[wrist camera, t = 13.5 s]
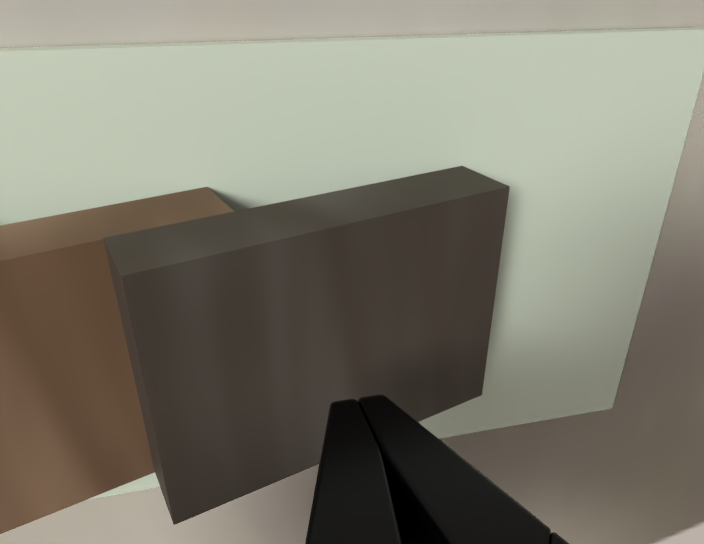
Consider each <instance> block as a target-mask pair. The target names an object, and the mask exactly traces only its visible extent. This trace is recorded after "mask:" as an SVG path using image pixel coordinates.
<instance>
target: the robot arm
mask: <svg viewBox="0 0 704 544" xmlns="http://www.w3.org/2000/svg"><path fill="white" fill-rule="evenodd" d="M305 544H569V543H568V542H566V541H565V540H564V539H563V538H561V537H560V536H559V535H558V534H556V533H554V532H553V533H551V530H550V528H549V527H547V526H546V525H545V524H544V523H542V522H541V521H540V520H539V519H537V518H536V517H535V516H534V515H532V514H531V513H530V512H529V511H528V510H526V509H525V508H524V507H523V506H521V505H520V504H519V503H518V502H516V501H515V500H514V499H513V498H511V497H510V496H509V495H508V494H506V493H505V492H504V491H503V490H502V489H500V488H499V487H498V486H497V485H495V484H494V483H493V482H492V481H490V480H489V479H488V478H487V477H485V476H484V475H483V474H482V473H480V472H479V471H478V470H477V469H475V468H474V467H473V466H472V465H471V464H469V463H468V462H467V461H466V460H464V459H463V458H462V457H461V456H459V455H458V454H457V453H456V452H454V451H453V450H452V449H451V448H449V447H448V446H447V445H446V444H444V443H443V442H442V441H441V440H440V439H438V438H437V437H436V436H435V435H433V434H432V433H431V432H430V431H428V430H427V429H426V428H425V427H423V426H422V425H421V424H420V423H418V422H417V421H416V420H415V419H413V418H412V417H411V416H410V415H409V414H407V413H406V412H405V411H404V410H402V409H401V408H400V407H399V406H397V405H396V404H395V403H394V402H392V401H391V400H390V399H389V398H387V397H386V396H384V395H373V396H366V397H361V398H360V399H359V400H358V401H357V400H355V399H347V400H340V401H334V402H332V403H331V405H330V408H329V414H328V419H327V425H326V431H325V436H324V442H323V447H322V453H321V458H320V464H319V470H318V475H317V481H316V486H315V492H314V498H313V503H312V509H311V514H310V520H309V526H308V531H307V537H306V542H305Z"/></svg>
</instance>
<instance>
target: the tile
mask: <svg viewBox="0 0 704 544" xmlns="http://www.w3.org/2000/svg"><path fill="white" fill-rule="evenodd" d="M509 189H510V186H508V185H505V184H503V183H501V182H498V181H496V180H494V179H492V178H489V177H487V176H485V175H482V174H480V173H478V172H475V171H473V170H471V169H469V168H466V167H464V166H458V167H453V168H448V169H443V170H438V171H433V172H428V173H423V174H418V175H413V176H408V177H403V178H398V179H393V180H388V181H384V182H379V183H374V184H369V185H364V186H359V187H354V188H349V189H344V190H339V191H334V192H329V193H324V194H319V195H314V196H309V197H304V198H299V199H294V200H289V201H284V202H279V203H274V204H269V205H264V206H259V207H254V208H249V209H244V210H239V211H234V212H229V213H224V214H219V215H214V216H209V217H204V218H199V219H194V220H189V221H184V222H179V223H174V224H169V225H164V226H159V227H154V228H149V229H145V230H140V231H135V232H130V233H125V234H120V235H115V236H110V237H105V238H103V239H104V244H105V248H106V253H107V257H108V262H109V266H110V271H111V275H112V280H113V285H114V289H115V294H116V298H117V303H118V307H119V312H120V316H121V321H122V325H123V330H124V334H125V339H126V343H127V348H128V352H129V357H130V362H131V366H132V371H133V375H134V380H135V384H136V389H137V393H138V398H139V402H140V407H141V411H142V416H143V420H144V425H145V429H146V434H147V438H148V443H149V448H150V452H151V457H152V461H153V466H154V470H155V473H156V476H157V479H158V482H159V485H160V487H161V490H162V493H163V496H164V499H165V501H166V504H167V507H168V510H169V512H170V515H171V518H172V521H173V524H174V525H175V524H177V523H180V522H182V521H184V520H187V519H189V518H191V517H194V516H196V515H199V514H201V513H203V512H206V511H208V510H210V509H213V508H215V507H218V506H220V505H222V504H225V503H227V502H229V501H232V500H234V499H237V498H239V497H241V496H244V495H246V494H248V493H251V492H253V491H256V490H258V489H260V488H263V487H265V486H267V485H270V484H272V483H275V482H277V481H279V480H282V479H284V478H286V477H289V476H291V475H294V474H296V473H298V472H301V471H303V470H305V469H308V468H310V467H312V466H315V465H317V464H320V458H321V453H322V447H323V442H324V436H325V431H326V425H327V419H328V414H329V408H330V405H331V403H332V402H334V401H340V400H347V399H355V400H357V401H358V400H359V399H360V398H361V397H366V396H373V395H384V396H386V397H387V398H389V399H390V400H391V401H392V402H394V403H395V404H396V405H397V406H399V407H400V408H401V409H402V410H404V411H405V412H406V413H407V414H409V415H410V416H411V417H412V418H413V419H415V420H416V421H417V422H419V421H422V420H424V419H426V418H429V417H431V416H433V415H436V414H438V413H441V412H443V411H445V410H448V409H450V408H452V407H455V406H457V405H460V404H462V403H464V402H467V401H469V400H471V399H474V398H476V397H479V396H481V395H482V391H483V384H484V376H485V369H486V361H487V354H488V346H489V339H490V331H491V324H492V316H493V309H494V301H495V294H496V286H497V279H498V271H499V264H500V256H501V249H502V241H503V234H504V227H505V219H506V212H507V204H508V197H509Z"/></svg>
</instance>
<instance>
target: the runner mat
mask: <svg viewBox="0 0 704 544" xmlns="http://www.w3.org/2000/svg"><path fill="white" fill-rule="evenodd" d="M703 73H704V27H684V28H651V29H618V30H585V31H552V32H518V33H485V34H452V35H419V36H386V37H352V38H319V39H286V40H253V41H220V42H186V43H153V44H120V45H87V46H53V47H20V48H0V226H1V225H6V224H11V223H17V222H22V221H27V220H33V219H38V218H43V217H49V216H54V215H59V214H64V213H70V212H75V211H80V210H86V209H91V208H96V207H102V206H107V205H112V204H118V203H123V202H128V201H134V200H139V199H144V198H150V197H155V196H160V195H166V194H171V193H176V192H182V191H187V190H192V189H197V188H203V187H208V188H209V189H210V190H211V191H212V192H213V193H214V194H216V195H217V196H218V197H219V198H220V199H221V200H222V201H223V202H224V203H226V204H227V205H228V206H229V207H230V208H231V209H232V210H233V211H239V210H244V209H249V208H254V207H259V206H264V205H269V204H274V203H279V202H284V201H289V200H294V199H299V198H304V197H309V196H314V195H319V194H324V193H329V192H334V191H339V190H344V189H349V188H354V187H359V186H364V185H369V184H374V183H379V182H384V181H388V180H393V179H398V178H403V177H408V176H413V175H418V174H423V173H428V172H433V171H438V170H443V169H448V168H453V167H458V166H464V167H466V168H469V169H471V170H473V171H475V172H478V173H480V174H482V175H485V176H487V177H489V178H492V179H494V180H496V181H498V182H501V183H503V184H505V185H508V186H510V189H509V197H508V204H507V212H506V219H505V227H504V234H503V241H502V249H501V256H500V264H499V271H498V279H497V286H496V294H495V301H494V309H493V316H492V324H491V331H490V339H489V346H488V354H487V361H486V369H485V376H484V384H483V391H482V395H481V396H479V397H476V398H474V399H471V400H469V401H467V402H464V403H462V404H460V405H457V406H455V407H452V408H450V409H448V410H445V411H443V412H441V413H438V414H436V415H433V416H431V417H429V418H426V419H424V420H422V421H419V422H418V423H420V424H421V425H422V426H423V427H425V428H426V429H427V430H428V431H430V432H431V433H432V434H433V435H435V436H436V437H437V438H438V439H440V438H446V437H452V436H457V435H463V434H469V433H475V432H481V431H486V430H492V429H498V428H504V427H509V426H515V425H521V424H527V423H532V422H538V421H544V420H550V419H555V418H561V417H567V416H573V415H578V414H584V413H590V412H596V411H602V410H607V409H612V407H613V404H614V400H615V396H616V393H617V389H618V385H619V382H620V378H621V374H622V371H623V367H624V363H625V360H626V356H627V352H628V349H629V345H630V341H631V338H632V334H633V330H634V327H635V323H636V319H637V316H638V312H639V308H640V305H641V301H642V297H643V294H644V290H645V286H646V283H647V279H648V275H649V271H650V268H651V264H652V260H653V257H654V253H655V249H656V246H657V242H658V238H659V235H660V231H661V227H662V224H663V220H664V216H665V213H666V209H667V205H668V202H669V198H670V194H671V191H672V187H673V183H674V180H675V176H676V172H677V169H678V165H679V161H680V158H681V154H682V150H683V147H684V143H685V139H686V135H687V132H688V128H689V124H690V121H691V117H692V113H693V110H694V106H695V102H696V99H697V95H698V91H699V88H700V84H701V80H702V77H703ZM158 487H160V485H159V482H158V479H157V476H156V473H152V474H150V475H147V476H145V477H142V478H140V479H137V480H134V481H132V482H129V483H127V484H124V485H122V486H119V487H117V488H114V489H112V490H109V491H107V492H104V493H102V494H99V495H97V496H94V497H92V498H89V499H95V498H100V497H106V496H112V495H118V494H123V493H129V492H135V491H141V490H146V489H152V488H158ZM89 499H87V500H89Z"/></svg>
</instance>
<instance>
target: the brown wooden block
mask: <svg viewBox="0 0 704 544" xmlns="http://www.w3.org/2000/svg"><path fill="white" fill-rule="evenodd" d="M229 212H234V211H233V210H232V209H231V208H230V207H229V206H228V205H227V204H226V203H224V202H223V201H222V200H221V199H220V198H219V197H218V196H217V195H216V194H214V193H213V192H212V191H211V190H210V189H209V188H208V187H203V188H197V189H192V190H187V191H182V192H176V193H171V194H166V195H160V196H155V197H150V198H144V199H139V200H134V201H128V202H123V203H118V204H112V205H107V206H102V207H96V208H91V209H86V210H80V211H75V212H70V213H64V214H59V215H54V216H49V217H43V218H38V219H33V220H27V221H22V222H17V223H11V224H6V225H1V226H0V534H1V533H4V532H6V531H9V530H11V529H14V528H16V527H19V526H21V525H24V524H27V523H29V522H32V521H34V520H37V519H39V518H42V517H44V516H47V515H49V514H52V513H54V512H57V511H59V510H62V509H64V508H67V507H69V506H72V505H74V504H77V503H79V502H82V501H84V500H87V499H89V498H92V497H94V496H97V495H99V494H102V493H104V492H107V491H109V490H112V489H114V488H117V487H119V486H122V485H124V484H127V483H129V482H132V481H134V480H137V479H140V478H142V477H145V476H147V475H150V474H152V473H155V470H154V466H153V461H152V457H151V452H150V448H149V443H148V438H147V434H146V429H145V425H144V420H143V416H142V411H141V407H140V402H139V398H138V393H137V389H136V384H135V380H134V375H133V371H132V366H131V362H130V357H129V352H128V348H127V343H126V339H125V334H124V330H123V325H122V321H121V316H120V312H119V307H118V303H117V298H116V294H115V289H114V285H113V280H112V275H111V271H110V266H109V262H108V257H107V253H106V248H105V244H104V239H103V238H105V237H110V236H115V235H120V234H125V233H130V232H135V231H140V230H145V229H149V228H154V227H159V226H164V225H169V224H174V223H179V222H184V221H189V220H194V219H199V218H204V217H209V216H214V215H219V214H224V213H229Z"/></svg>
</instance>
